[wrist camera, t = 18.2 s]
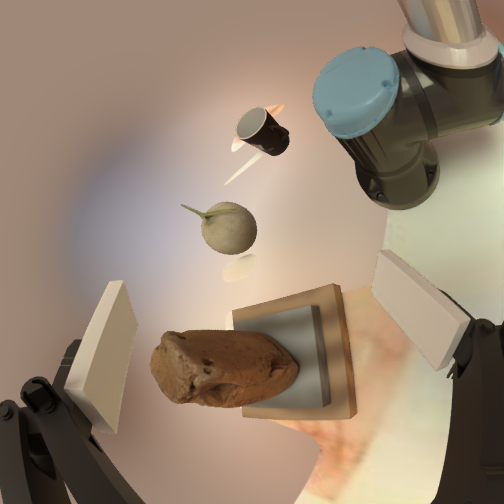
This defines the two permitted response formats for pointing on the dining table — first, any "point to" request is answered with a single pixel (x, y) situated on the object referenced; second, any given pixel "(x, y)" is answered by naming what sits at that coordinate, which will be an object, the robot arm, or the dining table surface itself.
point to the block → (221, 367)
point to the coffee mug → (262, 131)
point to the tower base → (333, 354)
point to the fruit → (228, 228)
